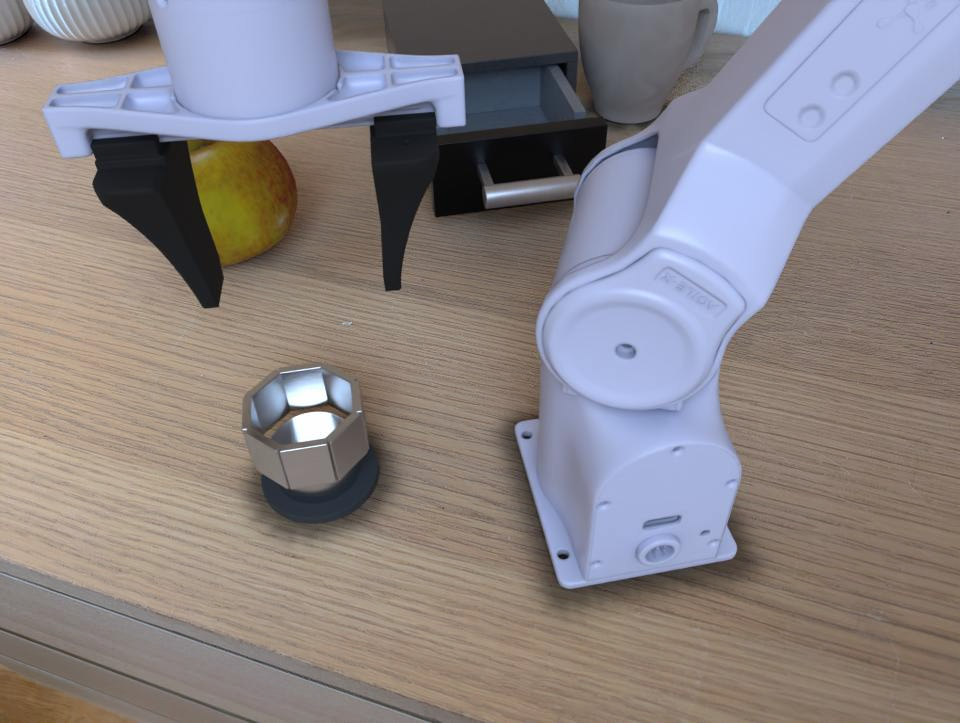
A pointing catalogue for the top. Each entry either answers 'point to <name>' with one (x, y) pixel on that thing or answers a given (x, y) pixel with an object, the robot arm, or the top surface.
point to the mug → (640, 51)
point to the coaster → (328, 509)
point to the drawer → (515, 143)
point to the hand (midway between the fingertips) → (303, 285)
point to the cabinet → (481, 33)
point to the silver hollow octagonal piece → (307, 431)
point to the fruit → (243, 195)
